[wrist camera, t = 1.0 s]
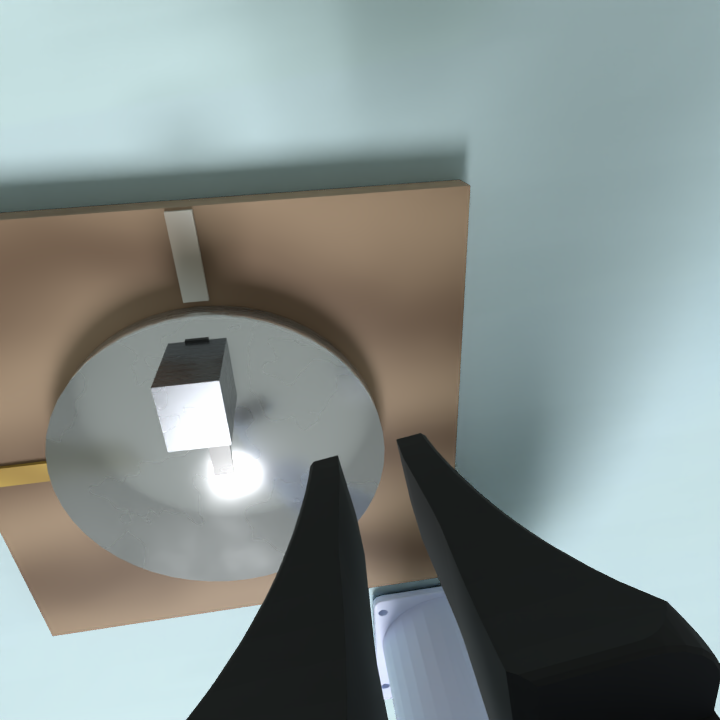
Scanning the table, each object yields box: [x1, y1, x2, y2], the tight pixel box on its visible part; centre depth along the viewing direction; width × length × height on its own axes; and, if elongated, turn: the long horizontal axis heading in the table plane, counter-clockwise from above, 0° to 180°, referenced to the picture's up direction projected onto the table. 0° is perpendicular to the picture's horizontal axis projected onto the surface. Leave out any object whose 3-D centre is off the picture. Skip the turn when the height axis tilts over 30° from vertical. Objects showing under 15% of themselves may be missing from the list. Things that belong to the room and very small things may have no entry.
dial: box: [45, 305, 385, 581], centre depth 21 cm, size 13×13×4 cm
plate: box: [0, 180, 470, 636], centre depth 23 cm, size 20×20×1 cm
